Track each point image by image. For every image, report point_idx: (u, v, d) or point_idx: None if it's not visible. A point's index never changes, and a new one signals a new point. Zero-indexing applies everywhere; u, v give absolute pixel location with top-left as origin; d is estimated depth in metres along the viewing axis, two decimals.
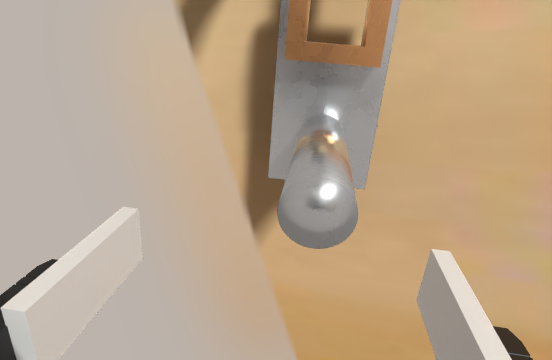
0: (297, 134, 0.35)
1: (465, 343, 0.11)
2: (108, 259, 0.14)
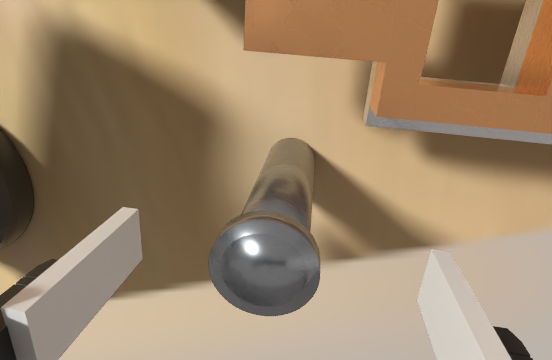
0: None
1: (465, 343, 0.11)
2: (108, 259, 0.14)
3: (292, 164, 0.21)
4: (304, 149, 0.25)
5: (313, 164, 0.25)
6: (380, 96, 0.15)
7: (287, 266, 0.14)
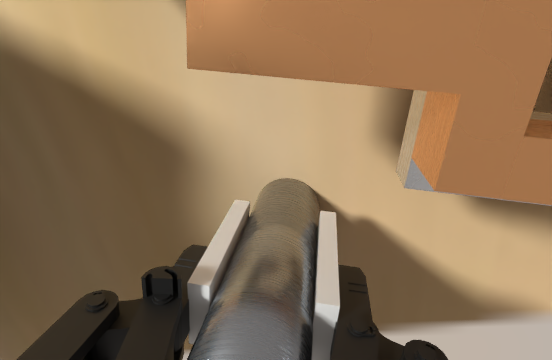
0: None
1: (316, 276, 0.13)
2: None
3: (286, 232, 0.14)
4: (305, 198, 0.18)
5: (317, 218, 0.18)
6: (444, 156, 0.08)
7: None
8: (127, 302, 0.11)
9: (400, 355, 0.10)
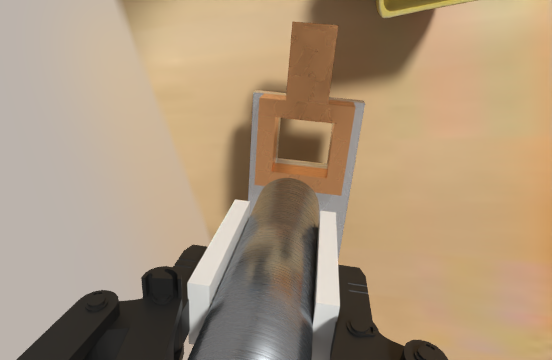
0: None
1: (316, 276, 0.13)
2: None
3: (286, 230, 0.14)
4: (305, 197, 0.18)
5: (317, 217, 0.18)
6: (269, 98, 0.29)
7: None
8: (127, 302, 0.11)
9: (400, 355, 0.10)
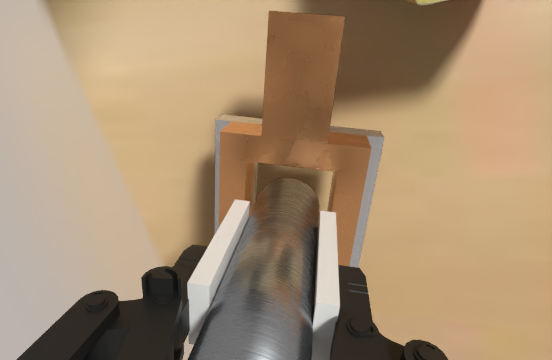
0: None
1: (316, 276, 0.13)
2: None
3: (286, 230, 0.14)
4: (305, 197, 0.18)
5: (317, 218, 0.18)
6: (235, 133, 0.19)
7: None
8: (127, 302, 0.11)
9: (400, 355, 0.10)
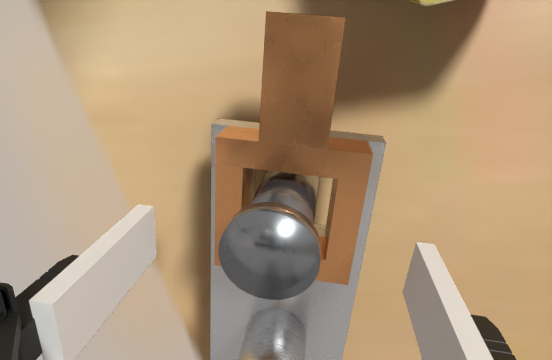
0: (244, 327, 0.26)
1: (444, 330, 0.11)
2: (126, 255, 0.14)
3: None
4: None
5: None
6: (232, 138, 0.18)
7: (290, 253, 0.15)
8: None
9: None
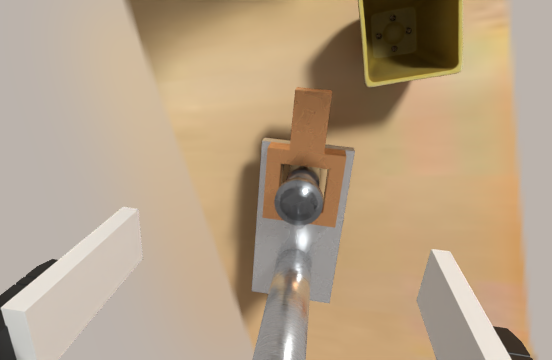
0: (274, 261, 0.43)
1: (465, 343, 0.11)
2: (108, 259, 0.14)
3: None
4: None
5: None
6: (275, 148, 0.36)
7: (309, 200, 0.33)
8: None
9: None
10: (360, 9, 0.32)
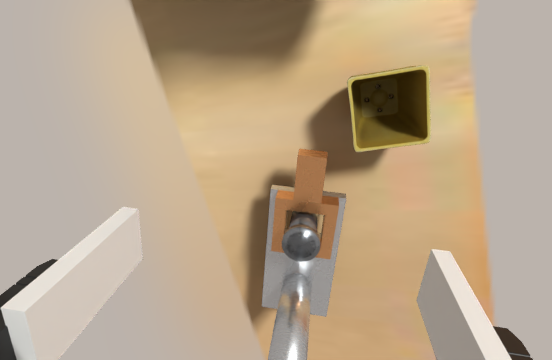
0: (280, 283, 0.52)
1: (465, 343, 0.11)
2: (108, 259, 0.14)
3: None
4: None
5: None
6: (282, 198, 0.44)
7: (309, 243, 0.42)
8: None
9: None
10: (349, 94, 0.40)
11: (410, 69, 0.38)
